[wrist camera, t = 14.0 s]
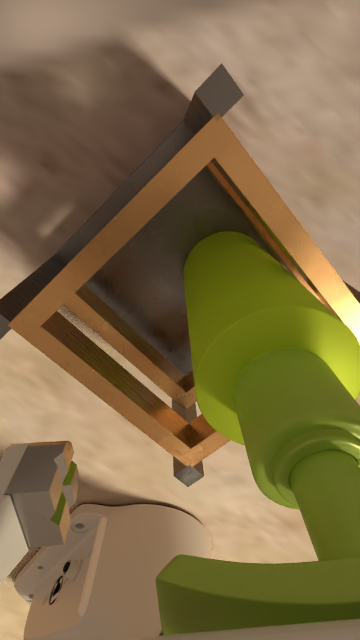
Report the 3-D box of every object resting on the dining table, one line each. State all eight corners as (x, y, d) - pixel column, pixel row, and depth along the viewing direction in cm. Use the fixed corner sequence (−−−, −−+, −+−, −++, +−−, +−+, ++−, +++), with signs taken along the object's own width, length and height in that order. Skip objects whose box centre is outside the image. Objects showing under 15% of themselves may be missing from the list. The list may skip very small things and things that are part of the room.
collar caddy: (181, 384, 29) (187, 486, 20) (47, 263, 24) (-26, 324, 15) (323, 273, 25) (412, 336, 16) (197, 107, 21) (221, 63, 12)
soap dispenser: (165, 234, 23) (140, 526, 4) (270, 228, 23) (679, 497, 4) (170, 316, 25) (168, 723, 7) (266, 311, 25) (517, 703, 7)
